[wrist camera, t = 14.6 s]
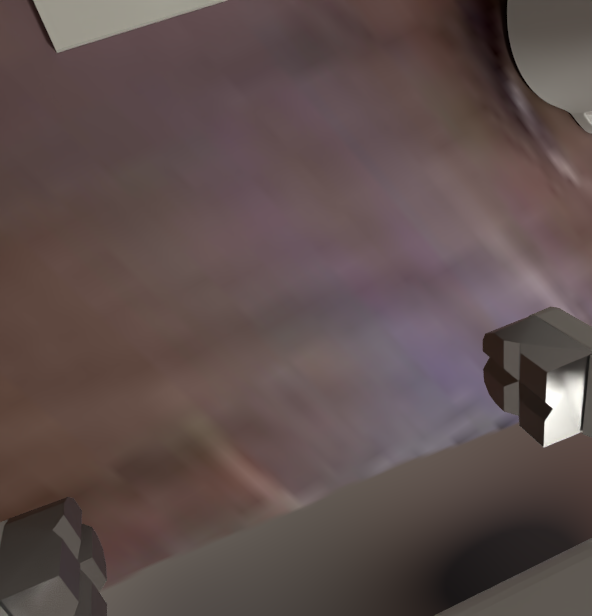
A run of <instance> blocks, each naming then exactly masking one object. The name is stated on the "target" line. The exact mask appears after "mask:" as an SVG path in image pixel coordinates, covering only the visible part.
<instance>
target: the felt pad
mask: <svg viewBox="0 0 592 616" xmlns="http://www.w3.org/2000/svg"><path fill="white" fill-rule="evenodd" d="M33 1H34V3H35V6H36V8H37V10H38V12H39V14H40V17H41V19H42V21H43V23H44V25H45V28H46V30H47V32H48V34H49V36H50V39H51V41H52V43H53V45H54V47H55V50H56V52H57V53H58V52H62V51H65V50H68V49H71V48H75V47H78V46H81V45H84V44H88V43H91V42H94V41H97V40H100V39H104V38H107V37H110V36H113V35H117V34H120V33H123V32H126V31H130V30H133V29H136V28H139V27H143V26H146V25H149V24H152V23H156V22H159V21H162V20H165V19H169V18H172V17H175V16H178V15H181V14H185V13H188V12H191V11H194V10H198V9H201V8H204V7H207V6H211V5H214V4H217V3H220V2H224V1H227V0H33Z"/></svg>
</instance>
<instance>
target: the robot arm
mask: <svg viewBox="0 0 592 616" xmlns="http://www.w3.org/2000/svg"><path fill="white" fill-rule="evenodd" d="M507 25H508V34H509V40H510V45H511V49H512V53H513V56H514V59H515V62H516V64H517V67H518V69H519V71H520V73H521V75H522V77H523V78H524V80H525V81H526V83H527V84H528V85H529V87H530V88H531V89H532V90H533V91H534V92H535V93H536V94H537V95H538V96H539V97H540V98H542V99H543V100H544V101H546V102H548V103H549V104H551V105H554V106H556V107H559V108H561V109H564V110H566V111H568V112H569V113H570V114H572V116H573V117H574V118H575V120H576V121H577V122H578V124H579V125H580V126H581V127H582V128H583V129H584V130H585V131H586V132H588V133H592V0H508V2H507ZM483 352H484V353H486V354H487V355H488V356H489V357H490V358H489V359H488V361H487V363H486V365H485V367H484V369H483V371H484V382H485V385H486V387H487V390H488V392H489V395H490V396H491V398H492V399H493V400H494V402H495V403H496V404H497V405H498V406H499V407H500V408H501V409H502V410H503V411H504V412H508V413H511V414H515V415H518V416H519V426H520V427H522V428H523V429H524V430H525V431H526V432H527V433H528V434H529V435H530V436H532V437H533V438H534V439H535V440H536V441H537V442H538V443H539V444H541V445H542V446H543V447H546V446H549V445H551V444H553V443H556V442H558V441H561V440H563V439H565V438H568V437H570V436H573V435H575V434H578V433H580V432H583V433H582V434H584V435H587V436H589V437H592V327H591V326H589V325H587V324H585V323H584V322H582V321H580V320H579V319H577V318H575V317H573V316H572V315H570V314H568V313H566V312H565V311H563V310H561V309H560V308H556V307H549V308H546V309H544V310H542V311H539V312H537V313H534V314H532V315H530V316H529V317H526V318H523V319H521V320H518V321H516V322H513V323H511V324H508V325H506V326H503V327H501V328H498V329H496V330H493V331H491V332H488V333H486V334H485V336H484V339H483ZM81 523H82V510H81V509H80V507H79V506H78V504H77V503H76V501H75V500H74V498H70V497H66V498H64V499H61V500H58V501H56V502H53V503H50V504H47V505H45V506H42V507H39V508H36V509H34V510H31V511H28V512H26V513H23V514H20V515H17V516H15V517H12V518H9V520H6V521H3V522H0V616H107V603H106V602H105V600H104V599H103V597H102V596H101V594H100V591H101V589H102V588H103V586H104V584H105V582H106V581H107V575H106V562H105V557H104V552H103V548H102V546H101V543H100V541H99V538H98V536H97V534H96V533H95V531H94V529H93V528H92V527H90V526H87V525H84V524H81ZM435 616H592V538H591V539H589V540H587V541H585V542H583V543H581V544H579V545H577V546H575V547H573V548H571V549H569V550H567V551H565V552H563V553H561V554H559V555H557V556H555V557H553V558H551V559H549V560H547V561H545V562H542V563H541V564H539V565H537V566H535V567H532V568H531V569H528V570H527V571H524V572H522V573H520V574H518V575H516V576H514V577H512V578H510V579H508V580H506V581H504V582H502V583H500V584H498V585H496V586H494V587H492V588H490V589H488V590H486V591H484V592H482V593H480V594H478V595H476V596H474V597H471V598H469V599H468V600H466V601H463V602H461V603H459V604H457V605H455V606H453V607H451V608H449V609H447V610H445V611H443V612H441V613H439V614H437V615H435Z"/></svg>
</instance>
